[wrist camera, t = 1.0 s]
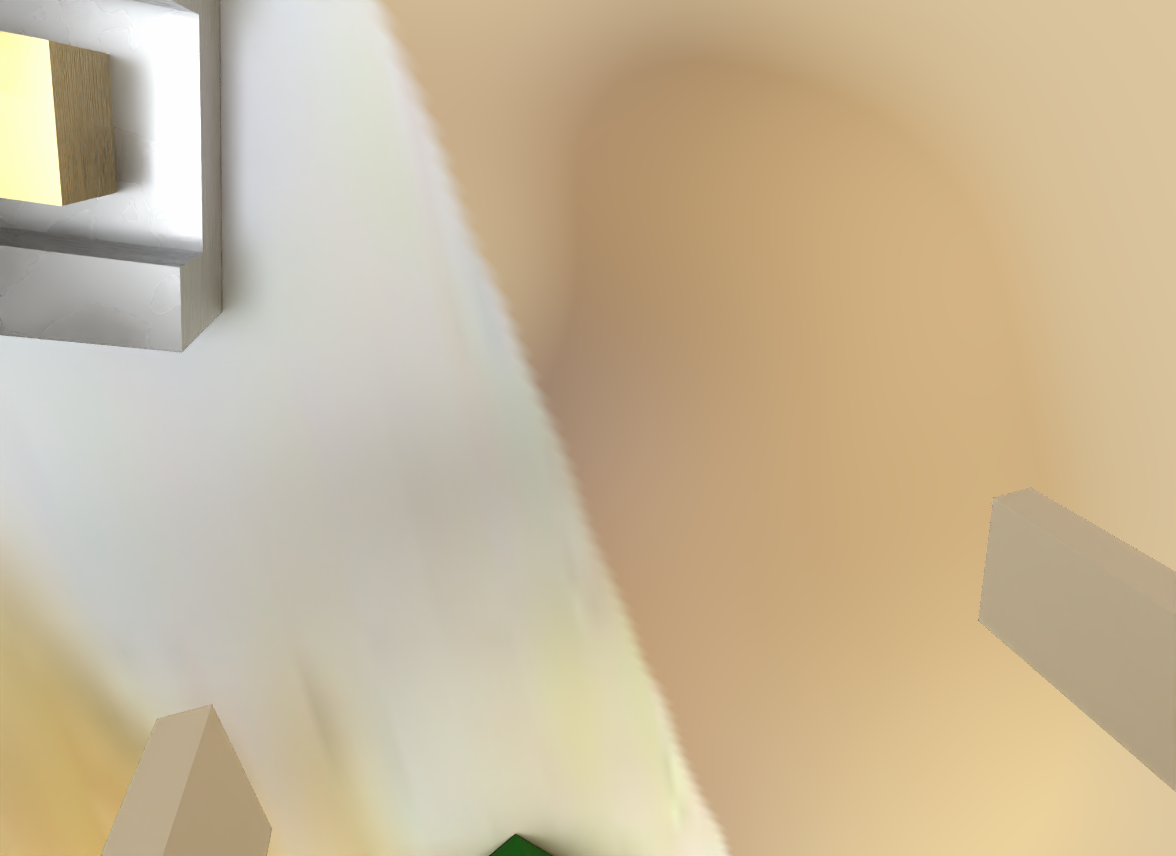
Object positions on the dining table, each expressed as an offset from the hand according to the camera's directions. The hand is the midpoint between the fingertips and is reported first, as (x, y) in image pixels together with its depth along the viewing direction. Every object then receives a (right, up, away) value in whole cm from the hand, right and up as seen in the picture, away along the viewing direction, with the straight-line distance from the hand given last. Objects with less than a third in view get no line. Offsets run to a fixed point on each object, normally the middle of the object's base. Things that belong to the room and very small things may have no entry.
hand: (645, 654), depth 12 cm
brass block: (-20, +14, +12) cm, 27 cm away
